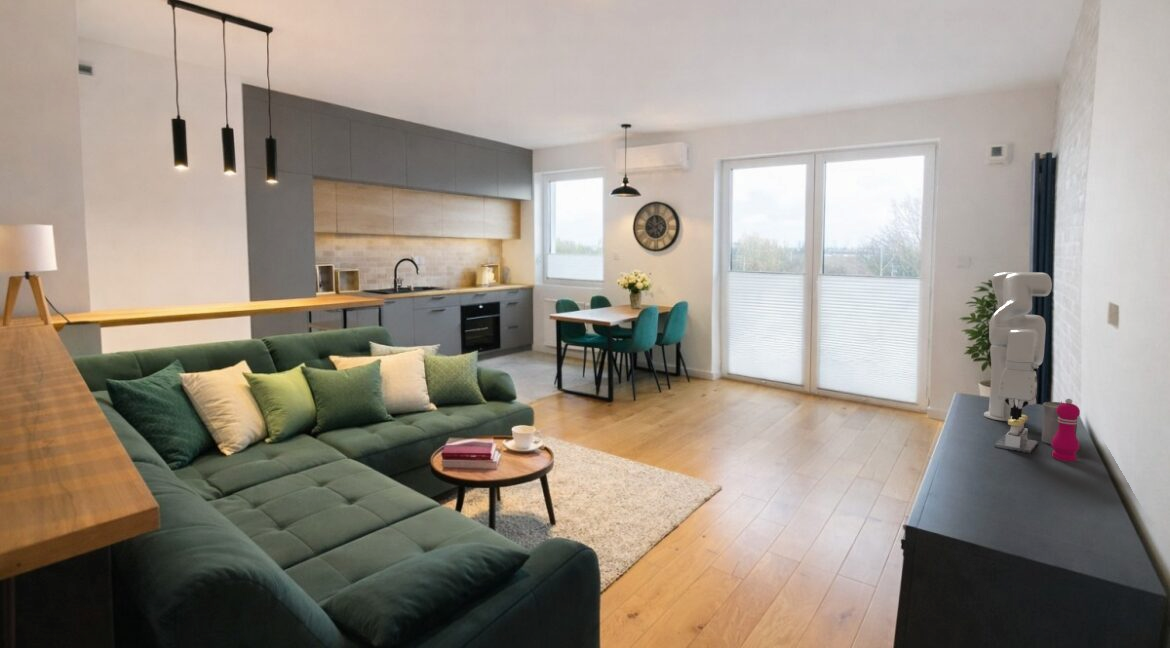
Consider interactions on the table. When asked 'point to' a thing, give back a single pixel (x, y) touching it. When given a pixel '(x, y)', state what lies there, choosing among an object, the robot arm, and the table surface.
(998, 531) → the table surface
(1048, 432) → the pillar candle
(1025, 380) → the robot arm
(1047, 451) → the table surface
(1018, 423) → the knob
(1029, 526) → the table surface
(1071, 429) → the pepper mill
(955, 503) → the table surface
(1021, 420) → the knob
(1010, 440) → the mount plate
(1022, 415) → the knob
